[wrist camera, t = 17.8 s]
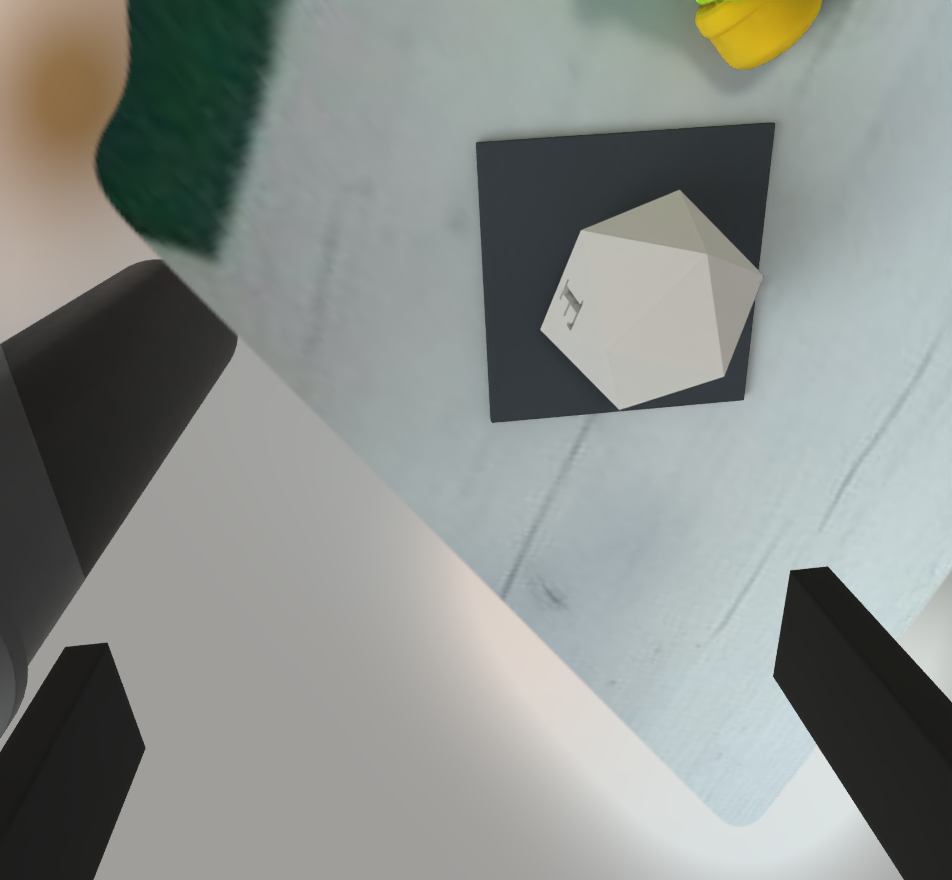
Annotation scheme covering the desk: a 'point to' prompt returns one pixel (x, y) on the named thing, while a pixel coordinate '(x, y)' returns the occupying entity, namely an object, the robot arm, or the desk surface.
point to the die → (652, 301)
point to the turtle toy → (754, 27)
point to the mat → (583, 205)
